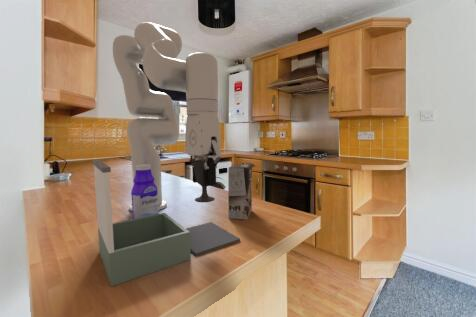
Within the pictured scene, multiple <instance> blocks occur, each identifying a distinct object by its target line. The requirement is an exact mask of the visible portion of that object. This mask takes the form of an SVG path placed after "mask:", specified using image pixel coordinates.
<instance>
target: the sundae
mask: <svg viewBox="0 0 476 317" xmlns="http://www.w3.org/2000/svg"><path fill="white" fill-rule="evenodd" d="M208 155H213V153H208V154H207V156H208ZM209 160H210V159H208V162H209ZM189 162H190V163H191V165H192V164H193V166H194V172H195V178H196V181H197V182H196V183H197V184H198V185H199V186H201V192H202V193H201V195H200V196H198V197H196V198H195V199H194V202H197V203H210V202H213V201H215V197H213V196H209V194H208V189H207V188H208V186H204V185H203V169H205V167H204V160H203V157H198V156H194V159H191V158H190V159H189Z"/></svg>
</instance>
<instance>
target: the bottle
mask: <svg viewBox="0 0 476 317" xmlns="http://www.w3.org/2000/svg"><path fill="white" fill-rule="evenodd" d="M133 182H134V183H135V184H134V186H133V185H132V189H131V194H130V195H131V204H132V210H133V211H132V219H137V218H142V217H147V216H152V215H157V214H160V213H159V211H160V210H158V191H157V187H156V185H155V183H154V177H153V176H152V173H151V165H150V164H141V165H136V174H135V178H134V180H133V179H132V183H133Z"/></svg>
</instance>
